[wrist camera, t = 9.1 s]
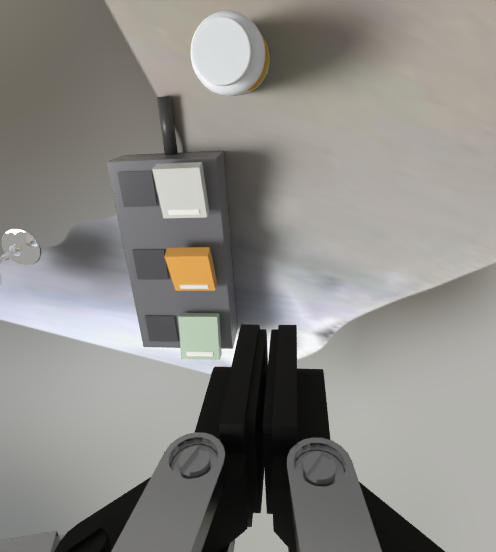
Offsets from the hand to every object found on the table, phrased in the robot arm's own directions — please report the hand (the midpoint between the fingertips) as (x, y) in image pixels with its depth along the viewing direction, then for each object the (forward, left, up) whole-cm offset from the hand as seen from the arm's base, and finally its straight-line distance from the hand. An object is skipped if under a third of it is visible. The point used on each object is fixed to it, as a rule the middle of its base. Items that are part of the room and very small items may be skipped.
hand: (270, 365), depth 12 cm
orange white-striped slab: (+9, +8, -24) cm, 26 cm away
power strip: (+11, +5, -29) cm, 32 cm away
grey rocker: (+9, 0, -24) cm, 25 cm away
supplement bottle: (+4, -10, -29) cm, 31 cm away
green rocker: (+9, +15, -24) cm, 29 cm away
